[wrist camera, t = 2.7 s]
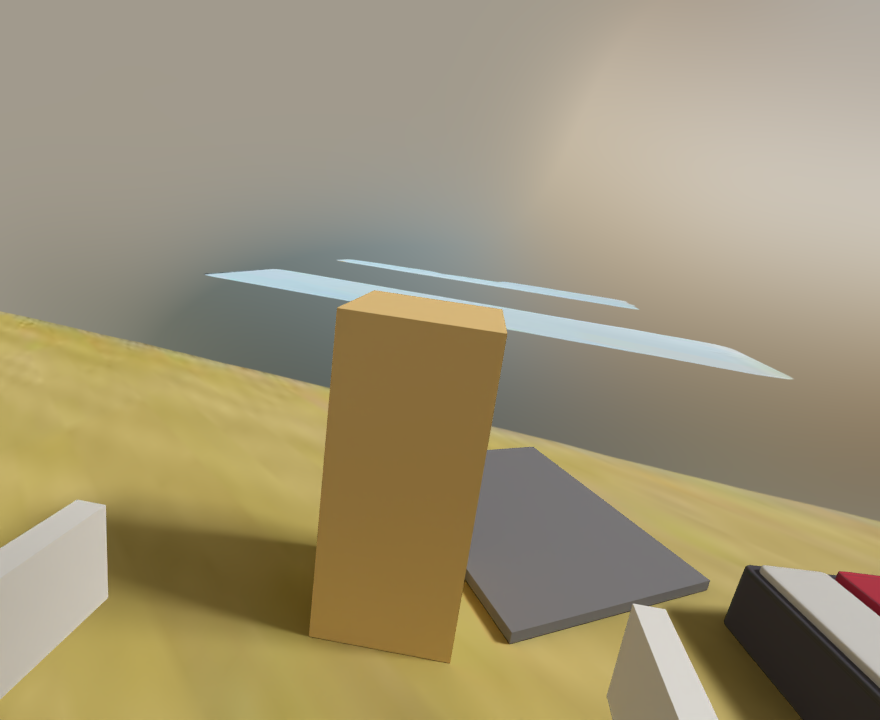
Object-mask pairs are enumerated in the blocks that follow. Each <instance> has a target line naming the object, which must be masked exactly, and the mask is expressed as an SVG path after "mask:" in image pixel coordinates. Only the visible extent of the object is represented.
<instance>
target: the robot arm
mask: <svg viewBox="0 0 880 720" xmlns="http://www.w3.org/2000/svg"><path fill="white" fill-rule="evenodd" d="M107 598H108V573H107V533H106V505H103V504H97V503H92V502H87V501H81V500H76V501H74V502H73V503H71V504H69V505H68V506H66V507H65V508H63V509H61V510H60V511H58V512H57V513H55V514H54V515H52V516H50V517H49V518H47V519H46V520H44V521H43V522H41V523H39V524H38V525H36V526H35V527H33V528H31V529H30V530H28V531H27V532H25V533H24V534H22V535H20V536H19V537H17V538H16V539H14V540H12V541H11V542H9V543H8V544H6V545H5V546H3V547H1V548H0V699H1V698H2V697H3V696H4V695H5V694H6V693H7V692H8V691H10V690H11V689H12V688H13V687H14V686H15V685H16V684H17V683H18V682H19V681H20V680H21V679H22V678H23V677H24V676H25V675H27V674H28V673H29V672H30V671H31V670H32V669H33V668H34V667H35V666H36V665H37V664H38V663H39V662H40V661H41V660H42V659H44V658H45V657H46V656H47V655H48V654H49V653H50V652H51V651H52V650H53V649H54V648H55V647H56V646H57V645H58V644H59V643H61V642H62V641H63V640H64V639H65V638H66V637H67V636H68V635H69V634H70V633H71V632H72V631H73V630H74V629H75V628H76V627H77V626H79V625H80V624H81V623H82V622H83V621H84V620H85V619H86V618H87V617H88V616H89V615H90V614H91V613H92V612H93V611H94V610H96V609H97V608H98V607H99V606H100V605H101V604H102V603H103V602H104V601H105V600H106V599H107ZM607 699H608V703H609V707H610V711H611V715H612V719H613V720H718V718H717V716H716V714H715V711H714V709H713V707H712V705H711V703H710V701H709V699H708V697H707V695H706V693H705V691H704V688H703V686H702V684H701V682H700V680H699V678H698V676H697V674H696V672H695V670H694V668H693V666H692V663H691V661H690V659H689V657H688V655H687V653H686V651H685V649H684V647H683V645H682V643H681V640H680V638H679V636H678V634H677V632H676V630H675V628H674V626H673V624H672V622H671V620H670V618H669V615H668V613H667V611H666V609H660V608H655V607H650V606H644V605H639V604H633V605H632V608H631V612H630V615H629V619H628V622H627V626H626V629H625V633H624V636H623V640H622V644H621V647H620V651H619V654H618V658H617V661H616V665H615V668H614V672H613V676H612V679H611V683H610V686H609V690H608V693H607Z"/></svg>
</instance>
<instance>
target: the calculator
mask: <svg viewBox="0 0 880 720" xmlns="http://www.w3.org/2000/svg"><path fill="white" fill-rule="evenodd" d="M724 624H725V625H726V627H727V628H728V629H729V630H730V632H731V633H732V634H733V635H734V636H735V638H736V639H737V640H738V641H739V643H740V644H741V645H742V646H743V647H744V649H745V650H746V651H747V652H748V654H749V655H750V656H751V657H752V658H753V660H754V661H755V662H756V663H757V664H758V666H759V667H760V668H761V669H762V671H763V672H764V673H765V674H766V675H767V677H768V678H769V679H770V680H771V682H772V683H773V684H774V685H775V686H776V688H777V689H778V690H779V691H780V692H781V694H782V695H783V696H784V697H785V699H786V700H787V701H788V702H789V703H790V705H791V706H792V707H793V708H794V710H795V711H796V712H797V713H798V714H799V716H800V717H801V718H802V719H803V720H880V576H876V575H868V574H860V573H852V572H840V571H839V572H838V574H837V576H836V575H828V574H825V573H822V572H816V571H807V570H799V569H791V568H782V567H774V566H753V565H748V566H746V567H745V569H744V572H743V574H742V576H741V579H740V581H739V584H738V586H737V589H736V592H735V594H734V597H733V599H732V602H731V604H730V607H729V609H728V612H727V614H726V617H725V620H724Z"/></svg>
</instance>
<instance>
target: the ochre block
mask: <svg viewBox="0 0 880 720" xmlns="http://www.w3.org/2000/svg"><path fill="white" fill-rule="evenodd" d="M506 338H507V330H506V325H505V320H504V316H503V311H502V309H496V308H489V307H482V306H476V305H469V304H462V303H455V302H449V301H442V300H435V299H429V298H422V297H415V296H409V295H402V294H395V293H388V292H382V291H375V290H374V291H372V292H370V293H368V294H366V295H364V296H361V297H359V298H357V299H355V300H353V301H351V302H349V303H347V304H344V305H342V306H340V307H338V308H337V315H336V326H335V339H334V350H333V361H332V373H331V384H330V396H329V408H328V419H327V431H326V443H325V454H324V466H323V477H322V489H321V501H320V512H319V524H318V536H317V547H316V559H315V571H314V582H313V594H312V605H311V617H310V629H309V637H315V638H320V639H325V640H330V641H336V642H341V643H346V644H351V645H357V646H362V647H367V648H373V649H378V650H383V651H388V652H394V653H399V654H404V655H409V656H415V657H420V658H425V659H430V660H436V661H441V662H446V663H450V660H451V655H452V649H453V643H454V637H455V632H456V626H457V620H458V614H459V609H460V603H461V597H462V591H463V586H464V580H465V574H466V568H467V563H468V557H469V551H470V545H471V540H472V534H473V528H474V522H475V517H476V511H477V505H478V499H479V494H480V488H481V482H482V476H483V471H484V465H485V459H486V453H487V448H488V442H489V436H490V430H491V425H492V419H493V413H494V407H495V401H496V396H497V390H498V384H499V378H500V372H501V367H502V361H503V356H504V350H505V344H506Z"/></svg>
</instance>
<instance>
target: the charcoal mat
mask: <svg viewBox="0 0 880 720" xmlns="http://www.w3.org/2000/svg"><path fill="white" fill-rule="evenodd" d="M465 580H466V581H467V583H468V584H469V586H470V587H471V588H472V590H473V591H474V593H475V594H476V596H477V597H478V599H479V600H480V602H481V603H482V604H483V606H484V607H485V609H486V610H487V612H488V613H489V615H490V616H491V618H492V619H493V620H494V622H495V623H496V625H497V626H498V628H499V629H500V631H501V632H502V634H503V635H504V636H505V638H506V639H507V641H508V642H509V644H511V643H515V642H518V641H522V640H526V639H529V638H533V637H537V636H540V635H544V634H548V633H551V632H555V631H559V630H562V629H566V628H569V627H573V626H577V625H580V624H584V623H588V622H591V621H595V620H599V619H602V618H606V617H610V616H613V615H617V614H621V613H624V612H628V611H631V608H632V605H633V604H639V605H644V606H650V605H653V604H657V603H661V602H664V601H668V600H672V599H675V598H679V597H683V596H686V595H690V594H693V593H697V592H701V591H704V590H707V588H708V585H709V582H710V580H709V579H707V578H706V577H705V576H703V575H702V574H701V573H699V572H698V571H697V570H695V569H694V568H693V567H691V566H690V565H689V564H687V563H686V562H685V561H683V560H682V559H681V558H679V557H678V556H677V555H676V554H674V553H673V552H672V551H670V550H669V549H668V548H666V547H665V546H664V545H662V544H661V543H660V542H658V541H657V540H656V539H654V538H653V537H652V536H650V535H649V534H648V533H646V532H645V531H644V530H642V529H641V528H640V527H638V526H637V525H636V524H634V523H633V522H632V521H631V520H629V519H628V518H627V517H625V516H624V515H623V514H621V513H620V512H619V511H617V510H616V509H615V508H613V507H612V506H611V505H609V504H608V503H607V502H605V501H604V500H603V499H601V498H600V497H599V496H597V495H596V494H595V493H593V492H592V491H591V490H589V489H588V488H587V487H585V486H584V485H583V484H582V483H580V482H579V481H578V480H576V479H575V478H574V477H572V476H571V475H570V474H568V473H567V472H566V471H564V470H563V469H562V468H560V467H559V466H558V465H556V464H555V463H554V462H552V461H551V460H550V459H548V458H547V457H546V456H544V455H543V454H542V453H540V452H539V451H538V450H537V449H535V448H534V447H524V448H510V449H497V450H487V453H486V459H485V465H484V471H483V476H482V482H481V488H480V494H479V499H478V505H477V511H476V517H475V522H474V528H473V534H472V540H471V545H470V551H469V557H468V563H467V568H466V574H465Z"/></svg>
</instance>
